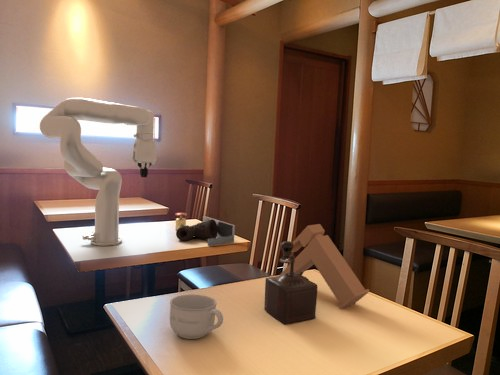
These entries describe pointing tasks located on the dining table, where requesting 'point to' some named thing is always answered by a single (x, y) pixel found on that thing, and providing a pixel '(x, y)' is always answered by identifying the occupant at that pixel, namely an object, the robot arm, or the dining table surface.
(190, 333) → the teacup
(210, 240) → the grey angle bracket
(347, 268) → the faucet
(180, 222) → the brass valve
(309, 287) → the pepper mill
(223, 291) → the dining table surface
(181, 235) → the pipe
